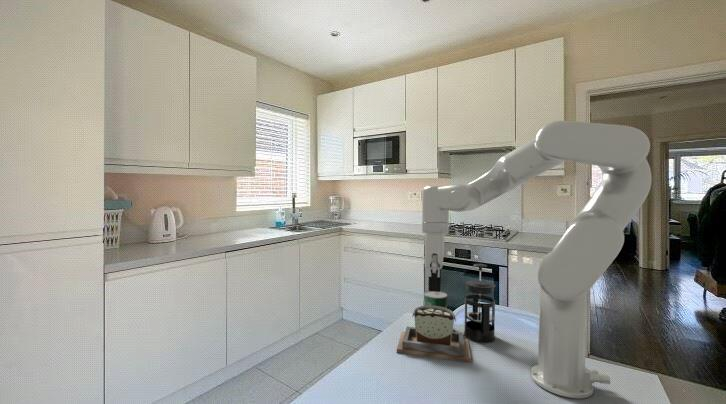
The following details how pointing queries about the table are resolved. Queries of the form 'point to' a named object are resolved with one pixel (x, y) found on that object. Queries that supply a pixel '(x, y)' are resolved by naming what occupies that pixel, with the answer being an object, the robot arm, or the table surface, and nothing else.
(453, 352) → the wooden tray
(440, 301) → the canned tomato
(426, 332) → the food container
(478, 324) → the french press
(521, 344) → the table surface
